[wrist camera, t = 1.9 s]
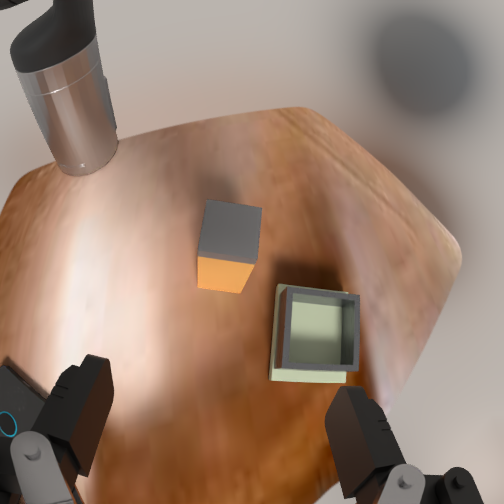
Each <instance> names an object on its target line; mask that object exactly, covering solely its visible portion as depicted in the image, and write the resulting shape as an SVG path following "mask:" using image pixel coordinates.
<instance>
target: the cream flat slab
mask: <svg viewBox="0 0 504 504" xmlns="http://www.w3.org/2000/svg"><path fill="white" fill-rule="evenodd" d="M287 286H289V287H297V288H305V289H313V290H321V291H329V292H337V293H346V294H348V292H341V291H333V290H324V289H316V288H308V287H301V286H293V285H285V284H278V285H277V286H276V296H275V309H274V322H273V335H272V347H271V359H270V370H269V380H274V381H291V382H318V383H346V372H317V371H296V370H280V369H274V360H275V348H276V336H277V323H278V309H279V294H280V293H281V292H282V291H283V290H284V289H285V288H286V287H287ZM341 334H342V307H337V306H327V305H318V304H309V303H300V302H293V303H292V320H291V336H290V350H289V362H293V363H310V364H334V365H340V360H341Z"/></svg>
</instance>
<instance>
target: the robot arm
mask: <svg viewBox="0 0 504 504" xmlns="http://www.w3.org/2000/svg"><path fill="white" fill-rule="evenodd" d="M25 1H28V0H0V10H4V9H7V8H11V7H13V6H15V5H18V4H20V3H23V2H25ZM10 54H11V58H12V61H13V64H14V67H15V70H16V72H17V75H18V78H19V80H20V83H21V85H22V88H23V90H24V92H25V95H26V98H27V100H28V102H29V105H30V107H31V109H32V112H33V114H34V116H35V119H36V121H37V123H38V125H39V127H40V129H41V132H42V134H43V136H44V138H45V140H46V142H47V144H48V146H49V148H50V150H51V152H52V154H53V156H54V158H55V160H56V162H57V164H58V166H59V168H60V169H61V170H62V171H63V172H64V173H66V174H68V175H72V176H82V175H87V174H90V173H92V172H95V171H96V170H98V169H100V168H101V167H103V166H104V165H105V164H107V163H108V161H109V160H110V159H111V158H112V157H113V155H114V154H115V152H116V149H117V145H118V140H117V135H116V128H117V126H116V122H115V117H114V113H113V108H112V103H111V99H110V94H109V89H108V84H107V79H106V77H105V76H103V70H102V65H101V60H100V54H99V49H98V42H97V36H96V27H95V20H94V10H93V0H53V6H52V7H51V8H50V9H49V10H48V11H47V12H45V13H44V14H43V15H42V16H40V17H39V18H38V19H36V20H35V21H33V22H32V23H31V24H29V25H28V26H27V27H26V28H24V29H23V30H22V31H21V32H20V33H19V34H18V35H17V37H16V38H15V39H14V41H13V42H12V44H11V48H10ZM113 398H114V386H113V380H112V373H111V367H110V361H109V359H107V358H102V357H98V356H94V355H90V354H87V355H86V357H85V358H84V360H83V362H82V364H81V365H80V367H79V366H75V365H71V366H70V367H69V368H68V369H66V370H65V371H64V372H62V373H61V375H60V377H59V379H58V380H57V382H56V385H55V386H54V387H53V389H52V391H51V394H50V395H49V396H48V398H47V400H46V402H45V404H44V406H43V408H42V410H41V411H40V413H39V415H38V417H37V419H36V421H35V423H34V425H33V427H32V428H31V430H30V431H26V432H22V433H20V434H18V435H17V436H16V437H15V438H7V437H1V436H0V504H16V503H17V500H18V496H19V494H22V495H23V497H24V500H25V503H26V504H84V502H83V500H82V498H81V496H80V494H79V491H78V489H77V487H76V485H75V482H76V479H77V476H78V474H79V475H82V476H85V477H88V475H89V472H90V469H91V465H92V462H93V459H94V456H95V453H96V450H97V447H98V444H99V441H100V438H101V435H102V432H103V429H104V426H105V423H106V420H107V417H108V414H109V412H110V409H111V406H112V403H113ZM325 428H326V432H327V436H328V439H329V443H330V447H331V450H332V454H333V458H334V462H335V465H336V469H337V473H338V477H339V481H340V484H341V488H342V492H343V496H344V499H347V498H353V497H356V501H357V503H356V504H484V503H483V501H482V499H481V496H480V493H479V491H478V489H477V486H476V484H475V482H474V480H473V477H472V476H471V474H470V473H469V472H468V471H467V470H465V469H464V468H461V467H454V468H451V469H450V470H449V471H448V472H446V473H445V474H444V475H424V474H423V473H422V472H421V471H420V470H419V469H418V468H417V467H415V466H413V465H409V464H407V463H406V462H405V460H404V457H403V455H402V453H401V450H400V448H399V446H398V443H397V441H396V439H395V437H394V434H393V432H392V431H391V427H390V425H389V423H388V422H387V419H386V416H385V414H384V412H383V410H382V408H381V407H380V406H379V405H378V404H377V403H376V402H375V401H374V400H373V399H368V397H367V395H366V393H365V390H364V389H363V387H361V386H342V387H340V388H339V390H338V391H337V393H336V395H335V397H334V399H333V401H332V403H331V405H330V407H329V409H328V411H327V413H326V416H325Z"/></svg>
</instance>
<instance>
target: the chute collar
mask: <svg viewBox="0 0 504 504" xmlns="http://www.w3.org/2000/svg"><path fill="white" fill-rule="evenodd" d="M293 302H300V303H309V304H318V305H327V306H337V307H342V334H341V360H340V365H334V364H310V363H293V362H289V350H290V336H291V320H292V303H293ZM359 339H360V295H355V294H346V293H337V292H329V291H321V290H313V289H305V288H297V287H289V286H287V287H286V288H285V289H284V290H283V291H282V292H281V293H280V294H279V309H278V323H277V336H276V348H275V360H274V369H280V370H296V371H317V372H354V371H358V369H359Z"/></svg>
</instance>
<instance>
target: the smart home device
mask: <svg viewBox="0 0 504 504" xmlns="http://www.w3.org/2000/svg"><path fill="white" fill-rule="evenodd" d="M45 402H46V399H45V398H43V397H42V396H41V395H40V394H39V393H38V392H36V391H35V390H34V389H33V388H32V387H31V386H30V385H29V384H27V383H26V382H25V381H24V380H23V379H22V378H21V377H20V376H19V375H18V374H17V373H16V372H15V371H14V370H13V369H12V368H11V367H9V366H4V365H3V366H1V367H0V436H1V437H7V438H15V437H16V436H17V435H18V434H20V433H22V432H26V431H30V430H31V428H32V427H33V425H34V423H35V421H36V419H37V417H38V415H39V413H40V411H41V410H42V408H43V406H44V404H45ZM20 496H21V494H19V496H18V500H17V503H16V504H18V502H19V499H20Z"/></svg>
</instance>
